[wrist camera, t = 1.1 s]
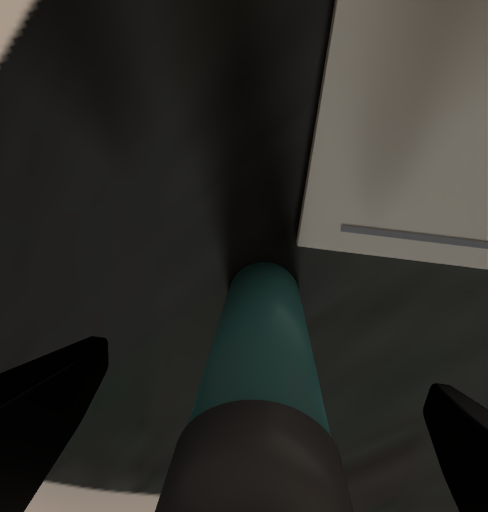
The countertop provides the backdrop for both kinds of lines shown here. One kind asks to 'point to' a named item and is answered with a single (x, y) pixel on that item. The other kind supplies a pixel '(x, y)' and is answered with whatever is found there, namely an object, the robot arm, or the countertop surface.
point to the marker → (258, 412)
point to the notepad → (402, 134)
